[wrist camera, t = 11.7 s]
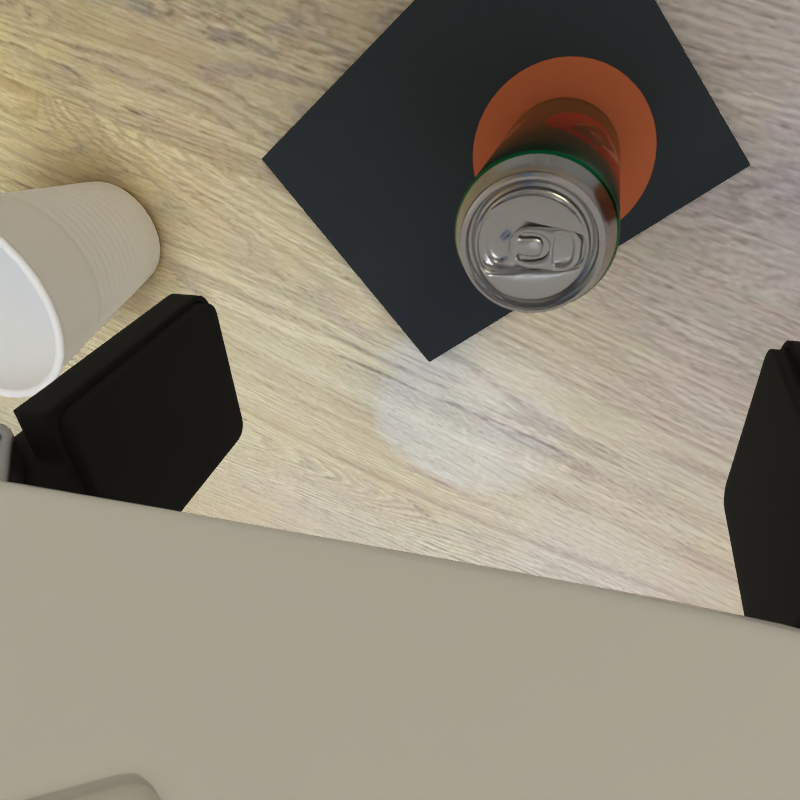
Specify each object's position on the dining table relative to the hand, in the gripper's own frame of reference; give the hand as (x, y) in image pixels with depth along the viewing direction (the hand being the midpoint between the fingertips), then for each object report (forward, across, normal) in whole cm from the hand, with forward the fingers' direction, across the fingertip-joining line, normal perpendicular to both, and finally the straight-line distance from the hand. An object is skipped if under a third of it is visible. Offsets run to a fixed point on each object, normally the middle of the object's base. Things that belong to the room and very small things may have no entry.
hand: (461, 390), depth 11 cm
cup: (+22, +25, +6) cm, 34 cm away
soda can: (+22, 0, +1) cm, 22 cm away
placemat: (+22, +3, +1) cm, 22 cm away
